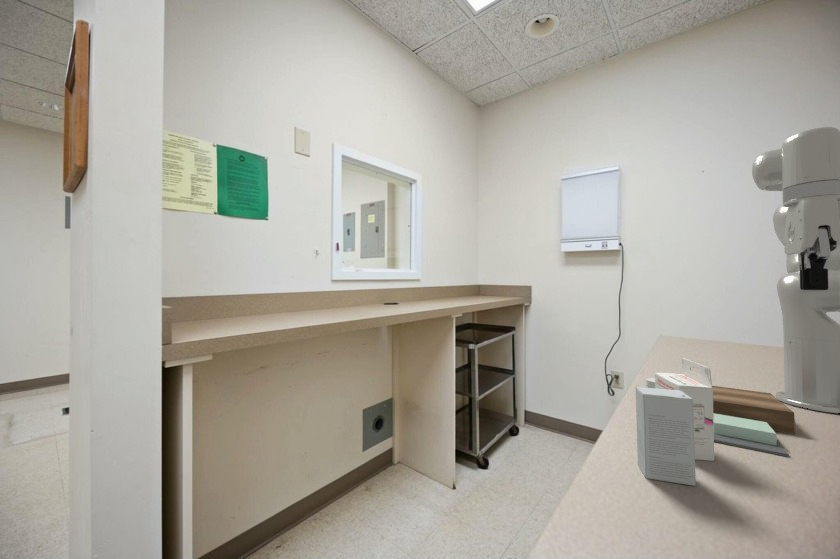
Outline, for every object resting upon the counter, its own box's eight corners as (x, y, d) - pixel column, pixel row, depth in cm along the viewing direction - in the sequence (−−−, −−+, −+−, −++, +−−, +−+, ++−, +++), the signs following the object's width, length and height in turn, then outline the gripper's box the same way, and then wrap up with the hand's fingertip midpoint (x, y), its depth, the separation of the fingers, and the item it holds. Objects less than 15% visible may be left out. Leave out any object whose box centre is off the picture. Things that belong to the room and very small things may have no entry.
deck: (679, 397, 82) (679, 381, 82) (770, 411, 73) (770, 393, 73) (685, 415, 71) (685, 396, 71) (794, 434, 62) (794, 412, 62)
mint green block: (714, 422, 61) (714, 433, 61) (776, 433, 56) (776, 445, 56) (709, 412, 66) (709, 422, 66) (766, 422, 61) (766, 433, 61)
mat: (680, 415, 70) (680, 413, 70) (766, 430, 63) (766, 428, 63) (686, 436, 61) (686, 434, 61) (789, 457, 53) (789, 454, 53)
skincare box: (683, 471, 49) (681, 389, 49) (696, 487, 45) (695, 398, 45) (635, 463, 51) (634, 385, 51) (644, 478, 47) (643, 393, 47)
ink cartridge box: (653, 435, 61) (652, 355, 61) (684, 438, 60) (683, 356, 60) (680, 459, 52) (678, 366, 53) (716, 462, 51) (714, 367, 52)
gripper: (771, 206, 72) (773, 289, 72) (798, 189, 60) (800, 289, 59) (823, 201, 68) (825, 290, 68) (863, 181, 56) (866, 290, 55)
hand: (813, 289), depth 64 cm, fingers closed
